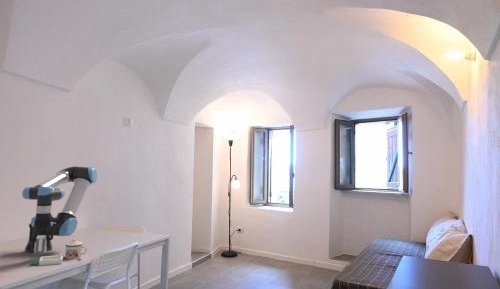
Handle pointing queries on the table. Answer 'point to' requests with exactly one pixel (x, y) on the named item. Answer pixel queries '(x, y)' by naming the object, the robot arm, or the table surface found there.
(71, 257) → the teacup with lid
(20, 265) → the table surface
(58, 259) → the header
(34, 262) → the board
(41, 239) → the plug
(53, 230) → the robot arm
